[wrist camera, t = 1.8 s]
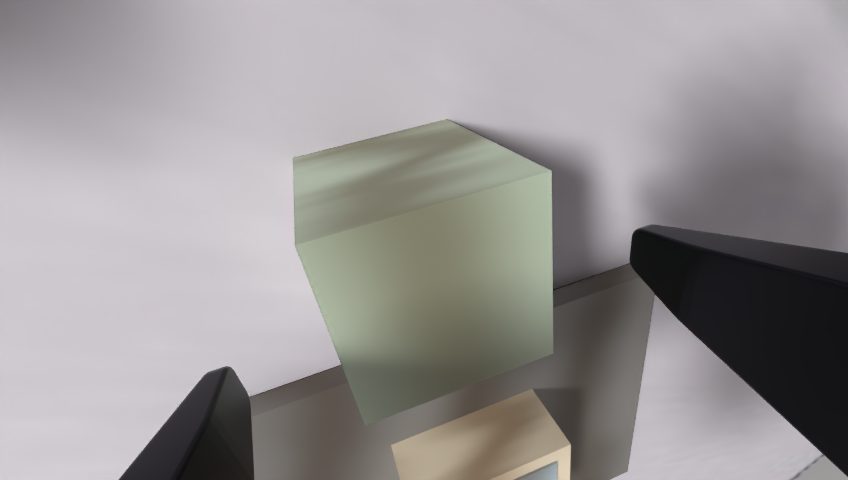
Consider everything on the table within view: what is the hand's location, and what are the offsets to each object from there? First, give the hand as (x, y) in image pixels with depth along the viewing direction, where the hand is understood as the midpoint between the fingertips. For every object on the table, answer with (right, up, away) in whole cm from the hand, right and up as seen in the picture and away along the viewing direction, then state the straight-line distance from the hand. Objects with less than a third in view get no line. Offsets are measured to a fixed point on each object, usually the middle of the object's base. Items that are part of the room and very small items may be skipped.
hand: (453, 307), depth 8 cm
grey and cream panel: (+1, -9, +12) cm, 15 cm away
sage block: (-2, +3, +5) cm, 6 cm away
